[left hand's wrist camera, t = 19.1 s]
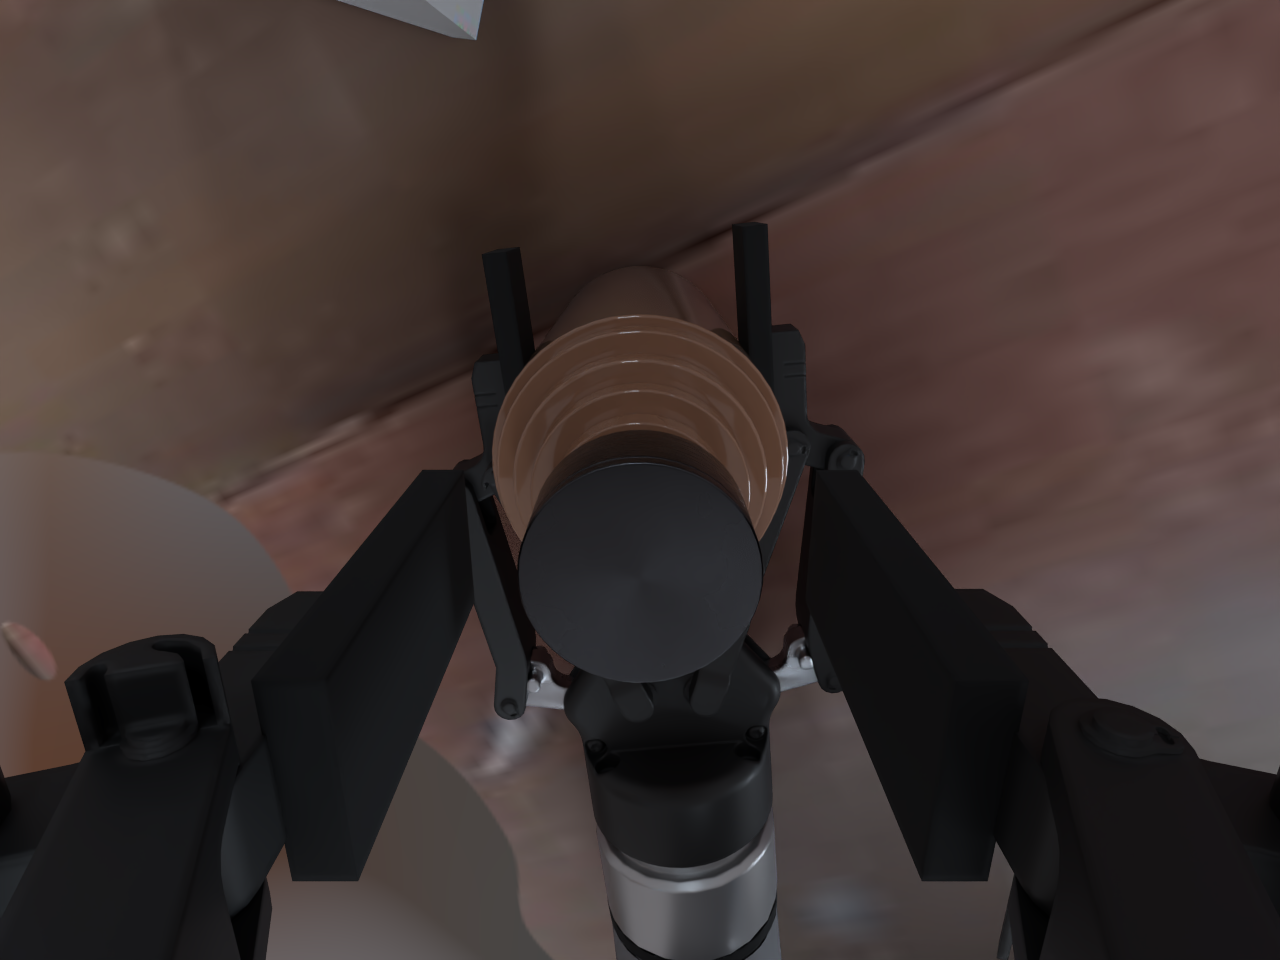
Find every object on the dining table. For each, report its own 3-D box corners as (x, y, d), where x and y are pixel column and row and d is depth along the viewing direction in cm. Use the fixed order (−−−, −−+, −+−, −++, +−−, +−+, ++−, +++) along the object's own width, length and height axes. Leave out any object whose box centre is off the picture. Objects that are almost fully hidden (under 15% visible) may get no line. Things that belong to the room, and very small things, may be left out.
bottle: (700, 242, 30) (795, 304, 12) (744, 410, 33) (880, 681, 14) (530, 295, 31) (367, 432, 12) (585, 455, 33) (517, 770, 15)
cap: (546, 634, 15) (535, 691, 13) (517, 439, 14) (499, 474, 12) (752, 618, 15) (767, 674, 13) (744, 419, 14) (759, 452, 12)
